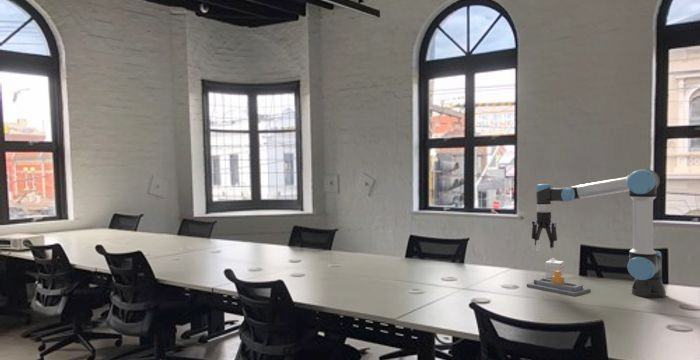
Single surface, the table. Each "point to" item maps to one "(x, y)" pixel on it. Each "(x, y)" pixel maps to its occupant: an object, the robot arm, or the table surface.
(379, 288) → the table surface
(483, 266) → the table surface
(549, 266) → the ink box
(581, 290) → the panel
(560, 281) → the toggle
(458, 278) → the table surface
